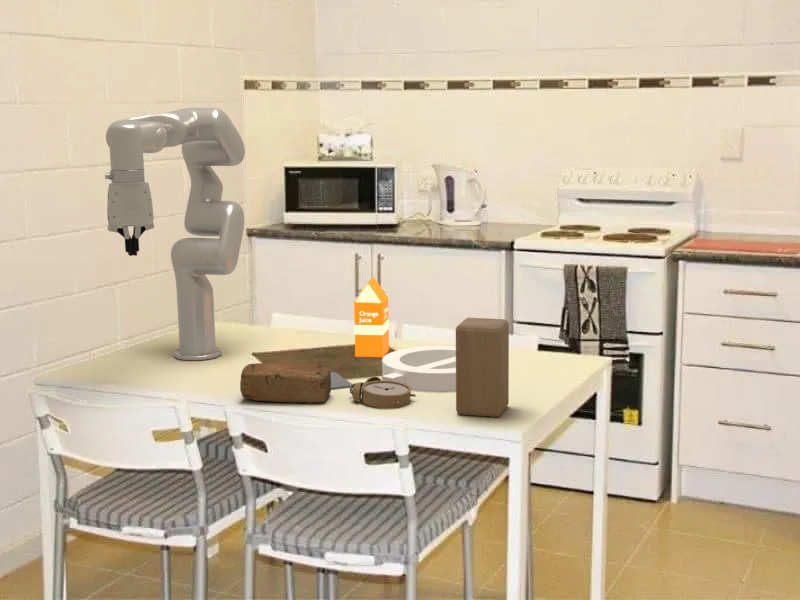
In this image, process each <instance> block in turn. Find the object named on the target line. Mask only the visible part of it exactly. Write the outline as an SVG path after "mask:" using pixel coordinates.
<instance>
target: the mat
mask: <svg viewBox="0 0 800 600" xmlns="http://www.w3.org/2000/svg"><path fill="white" fill-rule="evenodd" d="M330 373H331V389H332V390H338V389H340V388H341V389H347V388H349V389H350V385H352V384H353V383H352V382H351V381H349V380H347V379H345V377H343V376H342V375H340V374H338V373H337V372H335V371H332V372H331V371H330Z"/></svg>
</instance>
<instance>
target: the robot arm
mask: <svg viewBox="0 0 800 600" xmlns="http://www.w3.org/2000/svg"><path fill="white" fill-rule="evenodd" d="M105 142H106V144H107V146H108V148H109V158H110V159H109V160H110V171H109V172H105V173H104V178H105V180H110V183H109V184H108V187H107V203H106V204H107V209H106V210H107V211H106V212H107V213H106V214H107V221H108V224H107V229H106V230H107V231H109V232H112V233H113V232H114V233H118V234H119V235H120V236H122V237H123V238H124V249H125V253H127V255H128V256H129V257H130V256H131V257H132V256H135V257H136V256H138V252H140V242H139V239H140V238H141V236H142V235H143V234H144V232H147V231H149V230H152V229H154V228H155V225H154V218H155V217H154V207H153V198H152V192H151V188H150V185H149V182H147V181H145V164H144V160H145V159H144V154H155V153H159V152H161V151H163V149H164V148H172V147H176V146H180V145H181V154H182V157H183V160H184V163H185V166H186V168H187V171H188V174H189V178H190V179H189V180H190V188H189V195H188V200H187V203H186V204H187V205H186V210H185V214H184V222H183V223H184V229H185V231H186V232H187V233H188V234H190V235H193V236H196V237H185V238H180V239H178V240H177V241H175V242H174V243H173V245H172V247H171V250H170V259H171V260H170V261H171V264H172V268H173V269H172V270H173V272H174V277H175V278H174V280H175V284H176V286H175V287H176V302H177V303H176V304H177V320H178V321H177V323H178V325H177V326H178V342H179V343H178V344H179V348H178V349H176V350H175V351H174V352H173V356H174V358H175V359H178V360H183V361H203V360H210V359H215V358H218V357H220V356H222V353H223V351H222V350H223V349H222V348H221V347H218V346H216V344H217V343H216V342H217V341H216V327H215V326H216V325H215V304H214V303H215V302H214V301H215V300H214V299H215V298H214V290H213V287H212V283H211V281H210V280H209V279H208V277H207V276H206V275H210V276H211V275H213V276H214V275H215V276H228V275H230V274H231V275H232V273H233V272H234V271H235V270H236V268H237V264H238V262H239V261H238V260H239V256H240V252H241V251H240V250H241V245H242V240H243V235H244V229H245V214H244V210H243V208H242V206H241V205H240V204H239V203H238V202H237V201H236V202H235V201H232V200H222V197H223V196H222V195H223V191H224V190H223V189H224V186H223V182H222V181H221V178H220V177H219V176H218V174H217V173H216V172H215V170H214V169H213V167H235V166H238V165H240V164H241V163H242V162H243V161H244V158H245V155H246V154H245V153H246V147H245V143H244V139H243V138H242V136H241V134H240V133H239V131H238V129H237V128H236V126H235V124H234V123H233V121H232V120H231V118H230V116H228V114H227V113H226V112H224V111H223V110H222V109H220V108H219V107H185V108H180V109H176V110H172V111H168V112H162V113H155V114H150V115H144V116H137V117H130V118H123V119H120V120H116V121H115V120H114V121H113V122H112V123H111V124H109V126H108V127H107V129H106V133H105ZM129 227H133V230H132V235H130V230H129ZM197 236H198V237H197ZM207 237H211V238H207ZM212 237H214V238H212ZM215 237H219V238H215Z"/></svg>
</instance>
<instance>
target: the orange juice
mask: <svg viewBox="0 0 800 600" xmlns="http://www.w3.org/2000/svg"><path fill="white" fill-rule="evenodd" d="M353 307H354V308H353V310H354V312H353V314H354V315H353V316H354V346H355V347H354V349H355V350H354V357H361V358H365V357H366V358H367V357H368V358H383V357H384V356H385V355H387V354H388V353H389V351H390V319H389V318H390V317H389V315H390V314H389V296H388V295H387V294H386V293H385V291H384V289H383V288H382V287H381V285H380V283H378V281H377V279H376V278H375V276H373V277H372V278H371V279H370V280H369V281H368V282H366V285H365V286H364V287H363V288H362V290H361V291H360V293H359V295H358V296H357V298H356V299H355V301H354V302H353Z"/></svg>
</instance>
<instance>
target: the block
mask: <svg viewBox="0 0 800 600" xmlns="http://www.w3.org/2000/svg"><path fill="white" fill-rule="evenodd" d="M330 372H331V371H330V369H329V368H326V367H324V366H320V365H316V364H312V363H311V364H310V363H294V362H293V363H292V362H291V363H290V362H286V363H285V362H282V363H267V362H266V363H264V362H263V363H260V362H259V363H257V362H256V363H249V364H246V365H245V366H244V367H243V369H242V370H241V374H240V384H239V387H240V394H241V396H242V398H244V399H248V400H249V399H250V400H253V401H259V402H274V403H275V402H278V403H296V402H299V403H301V404H302V403H303V402H305V403H307V404H308V403H310V404H311V403H312V404H313V403H315V404H316V403H325V402H326V401H327V400H328V398H329V397H330V395H331V393H332V392H331V391H332V390H331V373H330ZM305 403H304V404H305Z"/></svg>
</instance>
